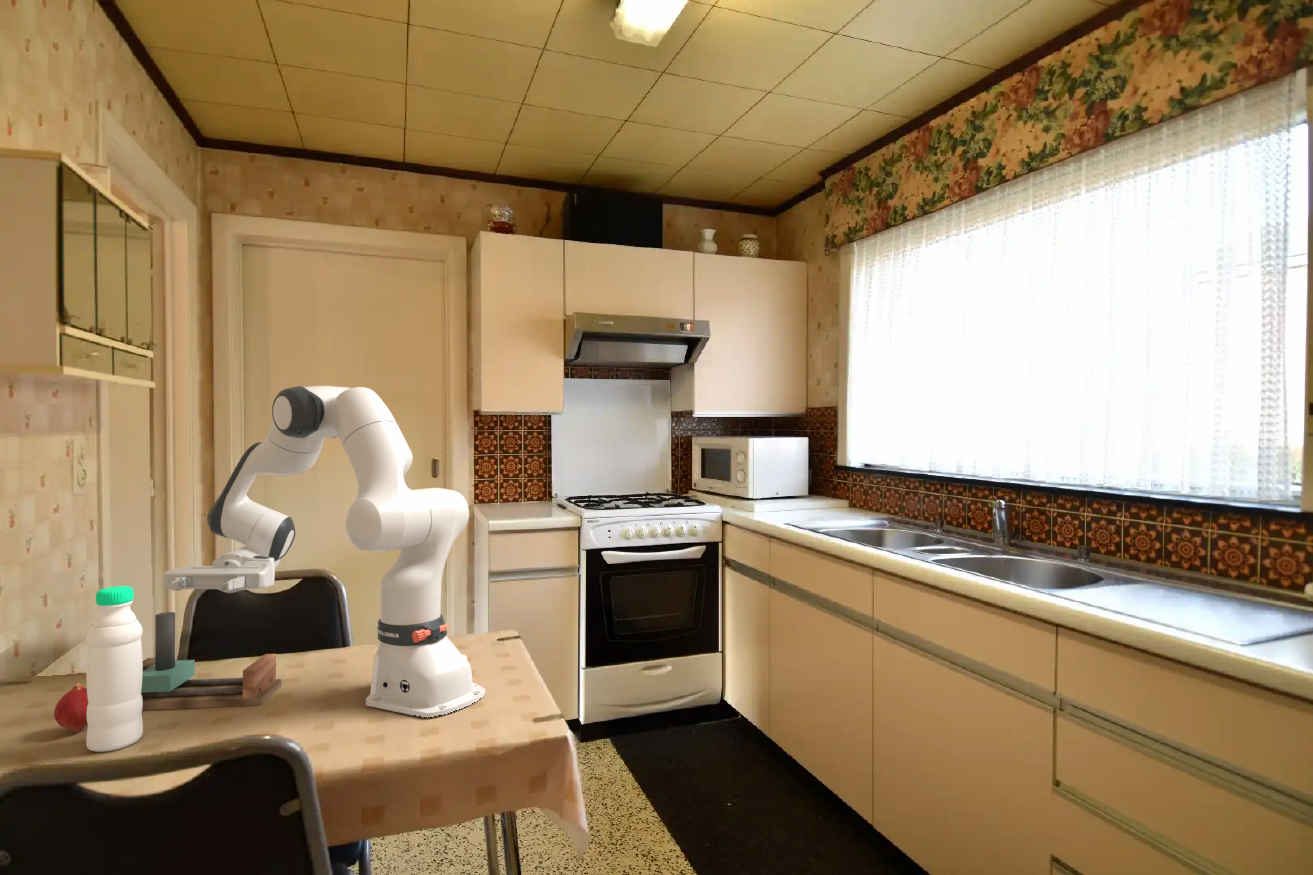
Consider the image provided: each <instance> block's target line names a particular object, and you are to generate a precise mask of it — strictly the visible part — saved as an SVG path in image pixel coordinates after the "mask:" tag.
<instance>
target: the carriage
mask: <svg viewBox="0 0 1313 875" xmlns="http://www.w3.org/2000/svg"><path fill="white" fill-rule="evenodd" d="M154 629H155V630H154V635H155V636H154V639H155V640H154V648H155V649H154V658H155V665H153V666H151V667H149V668H148V669H146V670H144V671H143V673H142V688H141V693H145V692H170V691H172V690H173V689H175V688H176V687H178V686H179V685H181V684H182V683H184V682H185V681H187V680H191V679H192V678H193V677H194V676H195V674H196V673H195V671H196V670H195V667H196V666H195V659H181V660H176V612H175V611H167V612H160V613H157V614H155V616H154Z"/></svg>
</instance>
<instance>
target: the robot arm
mask: <svg viewBox="0 0 1313 875" xmlns="http://www.w3.org/2000/svg"><path fill="white" fill-rule="evenodd" d="M271 409H272V410H271V411H272V414H271V415H272V422H271V424H270V428H269V430H268V434H267V436H266V438H265V439H264V441H261V442H255V443H254V444H252V445H251V446H250V447H248V448H247V449H246V451H244V453H243V454H242V456H241V457H240V459H239V461H238V462H237V464H236V466H235V467H234V469H233V471H232V473H231V475H230V477H229V478H228V480H227V482H226V484H225V486H224V488H223V490H222V491H221V493H220V495H219V496H218V498H217V499H216V501H215V502H214V504H213V505H212V507H211V508H210V509H209V512H208V513H207V516H206V522H207V525H208V528H209V529H210V531H211V533H213V534H214V535H217V536H220V537H222V538H227V539H231V540H233V541H235V542H237V543H240V544H243V545H244V546H243V547H242V546H241V547H240V548H238V549H235V550H231V551H229V552H227V553H224V554H221V555H220V556H218V557H217V558H215V559H214V560H213V561H212V562H211V565H189V566H187V565H186V566H181V567H176V568H173V569H171V570H167V571H164V573H163V574H162V586H163V588H164V589H165V590H171V591H181V590H219V591H221V592H223V593H227V594H232V593H237V592H240V591H247V590H251V589H253V590H254V589H255V590H259V589H262V590H263V589H266V588H271V587H272V586H274V584H275V577H276V576H275V575H276V569H277V567H278V566H279V565H280V562H281V560H282V558H284V557H285V556H286V554H288V552H289V551H290V549H291V547H292V545H293V543H294V540H295V537H296V527H295V523H294V520H293V519H292V517H291V516H289V515H287V514H284V513H282V512H279V511H277V510H275V509H272V508H269V507H267V506H265V505H262V504H260V503H258V502H255V501H253V500H251V499H250V498H249V496H248V495H247V493H248V492H249V490H250V488H251V486H252V485H253V483H254V481H255V479H256V477H257V475H271V476H272V475H273V476H277V477H278V476H279V477H290V476H296V475H299V474H303V473H305V472H307V471H308V470H309V469H311V468H312V467H313V466H314V465H315V464H316V462H317V460H318V458H319V456H320V454H321V452H322V448H323V446H324V445H323V444H324V442H325V439H326V438H330V439H336V438H339V439H340V442H341V444H342V447H343V448H344V451H345V452H346V453H345V454H346V455H347V457H348V459H349V462H350V464H351V467H352V469H353V472H354V474H355V476H356V481H357V494H356V495H357V496H356V498H355V500H354V502H353V503H352V505H350V507H349V509H348V512H347V514H346V518H345V530H346V531H345V532H346V534H347V537H348V539H349V540H350V542H351V543H352V544H353V545H354V546H355V548H357V549H359V550H361V551H368V552H369V551H370V552H391V551H396V550H400V553H399V555H398V558H397V559H396V561H395V563H394V564H393V565H392V566H391V567H390V568H389V569H388V570H387V571H386V572H385V573H384V575H383V576H382V579H381V581H380V591H379V592H380V595H379V597H380V605H379V606H380V607H379V608H380V611H379V612H380V617H379V619H378V621H377V627H376V632H377V640H378V641H379V644H378V648H377V650H376V654H375V655H374V658H373V663H372V664H373V665H372V674H371V684H370V693H369V695H368V696H367V697H366V699H365V703H364V704H365V707H370V708H377V709H380V710H385V711H391V712H394V713H395V712H396V713H401V714H405V715H409V716H414V715H416V716H415V717H419V716H421V717H420V718H424V717H425V719H429V718H428V717H432V716H437V717H439V716H438V715H442V716H445V715H448V713H449V714H451V713H450V712H452V713H454V712H453V711H455V710H457V711H459V709H460V710H462V709H464V707H465V708H467V707H469V706H471V705H473V704H475V703H477V702H478V701H479V699H480V698H481V699H483V697H484V696H485V695H486V689H485V688H484V687H483V686H482V685H479V684H477V683H475V682H473V674H472V672H473V671H472V667H471V664H470V662H469V660H468V657H467V656H466V654H463V653H461V651H459V649H458V648H457V646H455V644H454V643H453V641H451V640H450V639H449V637H448V636H447V635H448V630H450V629H451V627H448V626H450V625H451V623H449V622H448V623H446V622H445V619H444V615H443V614H442V613H441V609H442V607H441V606H442V605H441V604H442V603H441V602H442V582H443V581H442V580H443V575H444V574H443V573H444V570H445V565H446V562H447V559H448V557H449V553H450V551H451V549H452V547H453V544H454V542H455V541H456V540H457V538H458V537H459V536H460V534H462V532H464V530H465V529H466V528H467V525H468V522H469V519H470V508H469V506H468V502H467V500H466V498H465V497H464V495H462V494H461V493H460V492H458V491H456V490H453V489H449V488H443V487H442V488H441V487H428V488H417V489H411V488H410V487H408V486H407V484H406V481H405V475H406V474H407V473H408V471H409V470H410V468H411V467H412V464H413V458H414V456H413V451H411V448H410V446H409V444H408V442H407V440H406V438H405V436H404V434H403V433H402V432H403V431H401V429H400V426H399V424H398V422H397V421H396V419H395V417H394V415H393V414H392V411H390V408H389V407H388V406H387V405H386V403H385V402H384V401H383V399H382V398H381V397H380V396H379V395H378V394H377V393H376V392H375V391H374V390H373V389H371V388H368V387H365V386H356V387H354V386H353V387H349V386H348V387H347V386H334V385H312V386H292V387H287V388H285V389H282V390H280V391H279V392H278V393H277V395H276V396H275V398H274V400H273V403H272V407H271ZM484 694H485V695H484ZM481 699H480V700H481ZM474 702H475V703H474ZM472 703H473V704H472ZM466 706H467V707H466ZM461 708H462V709H461ZM455 712H456V711H455ZM444 714H445V715H444ZM426 717H427V718H426ZM432 718H433V717H432Z"/></svg>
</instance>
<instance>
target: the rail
mask: <svg viewBox="0 0 1313 875" xmlns="http://www.w3.org/2000/svg"><path fill="white" fill-rule="evenodd" d="M276 663H277V654H276V653H264V654H263V655H262V656H261V657H259V658H258V659H256V660H255V661H253V662H252V663H251V664H249V665H247V667H246V668H244V669H243V670H242V677H224V678H222V677H221V678H201V679H200V678H199V679H196V678H195V679H194V678H193V679H188V680H187V681H185V682H184V683H182V684H181V685H179V686H178V687H176V688H175V689H173V690H172V691H170V692H145V693H141V695H142V700H143V707H142V711H152V710H155V711H156V710H177V709H178V710H179V709H180V710H182V709H183V710H185V709H203V708H204V709H207V708H227V707H230V708H231V707H252V706H253V707H254V706H261V705H262V704H264V703H265V702H266V701H267V700H268V699H269V698H271V697H272V695H274V693H276V692H278V690H279V689H281V687H282V678H277V664H276ZM153 665H155V657H147V658H145V659H144V660H143V671H144V670H146V669H148V668H149V667H151V666H153Z"/></svg>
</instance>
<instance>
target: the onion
mask: <svg viewBox="0 0 1313 875" xmlns="http://www.w3.org/2000/svg"><path fill="white" fill-rule="evenodd" d="M87 706H88V697H87V687H84V686H83V685H82V684H81V683H75V684H74V685H73V686H72V689H71V690H69V691H68V692H66V693H65V694H64V695H63V696H62V697H61V698H60V699H59V700H58V701H57V703H56V705H55V707H54V710H53V717H54V720H55V721H56V723H57V724H58V725H59V726H61V727H62V728H65V729H68V730H70V731H71V732H74V733H78V732H80V731H82V730H83V729H84V728H85V727H88V723H87Z"/></svg>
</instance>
